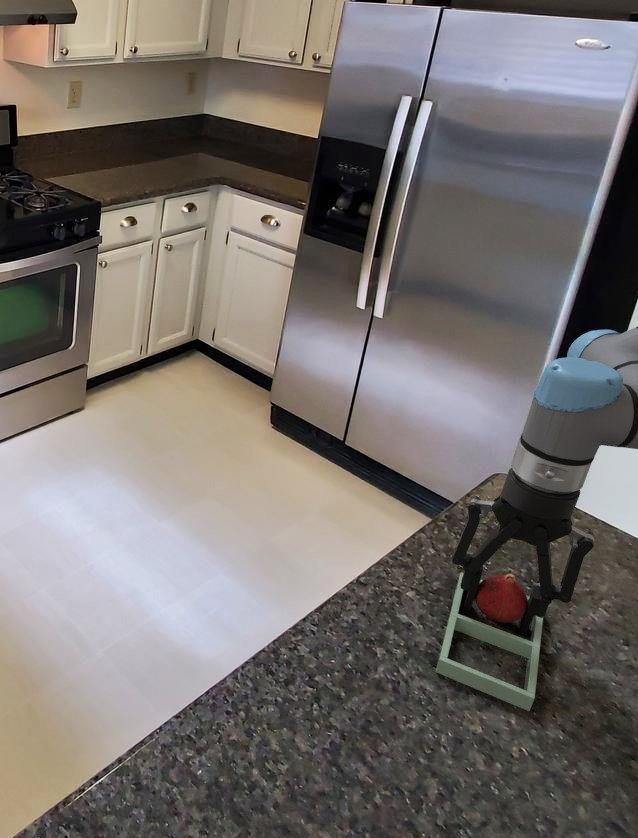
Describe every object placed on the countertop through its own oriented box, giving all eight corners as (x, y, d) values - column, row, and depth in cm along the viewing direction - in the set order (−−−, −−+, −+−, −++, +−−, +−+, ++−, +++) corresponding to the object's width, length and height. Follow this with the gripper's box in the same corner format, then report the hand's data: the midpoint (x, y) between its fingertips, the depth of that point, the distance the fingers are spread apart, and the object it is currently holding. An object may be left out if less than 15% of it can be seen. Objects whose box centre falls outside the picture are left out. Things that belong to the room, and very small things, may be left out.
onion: (476, 631, 106) (492, 586, 103) (463, 601, 111) (478, 556, 108) (525, 639, 105) (543, 593, 102) (510, 608, 110) (526, 563, 107)
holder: (455, 588, 115) (460, 571, 114) (538, 618, 110) (544, 601, 108) (433, 677, 101) (439, 659, 99) (527, 716, 95) (534, 698, 94)
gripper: (454, 466, 101) (412, 605, 110) (641, 522, 90) (577, 669, 100) (462, 440, 106) (421, 575, 116) (640, 490, 96) (579, 632, 106)
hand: (494, 618), depth 108 cm, fingers closed on onion, 6 cm apart
